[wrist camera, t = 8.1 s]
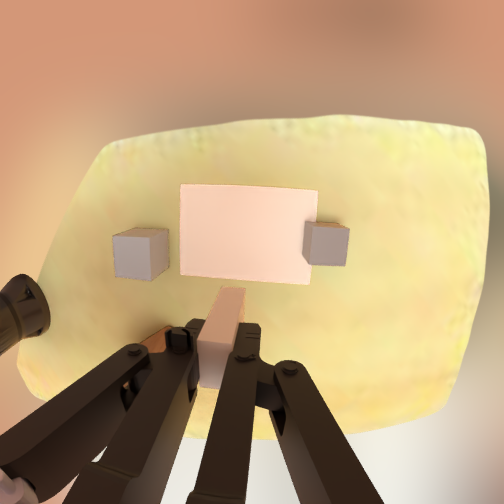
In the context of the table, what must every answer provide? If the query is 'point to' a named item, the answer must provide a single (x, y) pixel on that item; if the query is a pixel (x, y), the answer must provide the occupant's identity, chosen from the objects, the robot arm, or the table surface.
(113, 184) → the table surface
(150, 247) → the slate cube
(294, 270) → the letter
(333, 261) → the grey cube
